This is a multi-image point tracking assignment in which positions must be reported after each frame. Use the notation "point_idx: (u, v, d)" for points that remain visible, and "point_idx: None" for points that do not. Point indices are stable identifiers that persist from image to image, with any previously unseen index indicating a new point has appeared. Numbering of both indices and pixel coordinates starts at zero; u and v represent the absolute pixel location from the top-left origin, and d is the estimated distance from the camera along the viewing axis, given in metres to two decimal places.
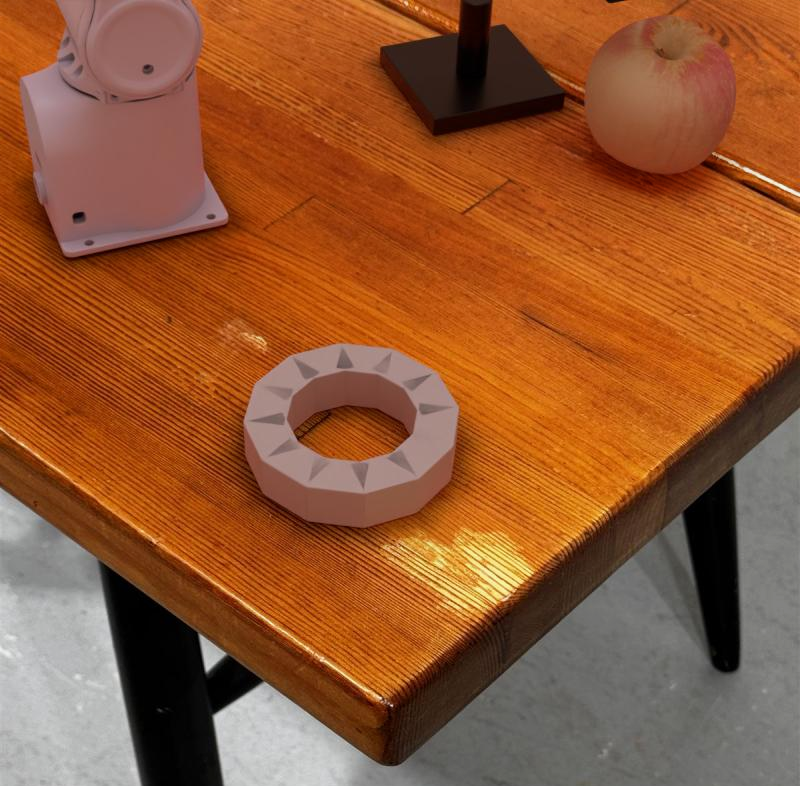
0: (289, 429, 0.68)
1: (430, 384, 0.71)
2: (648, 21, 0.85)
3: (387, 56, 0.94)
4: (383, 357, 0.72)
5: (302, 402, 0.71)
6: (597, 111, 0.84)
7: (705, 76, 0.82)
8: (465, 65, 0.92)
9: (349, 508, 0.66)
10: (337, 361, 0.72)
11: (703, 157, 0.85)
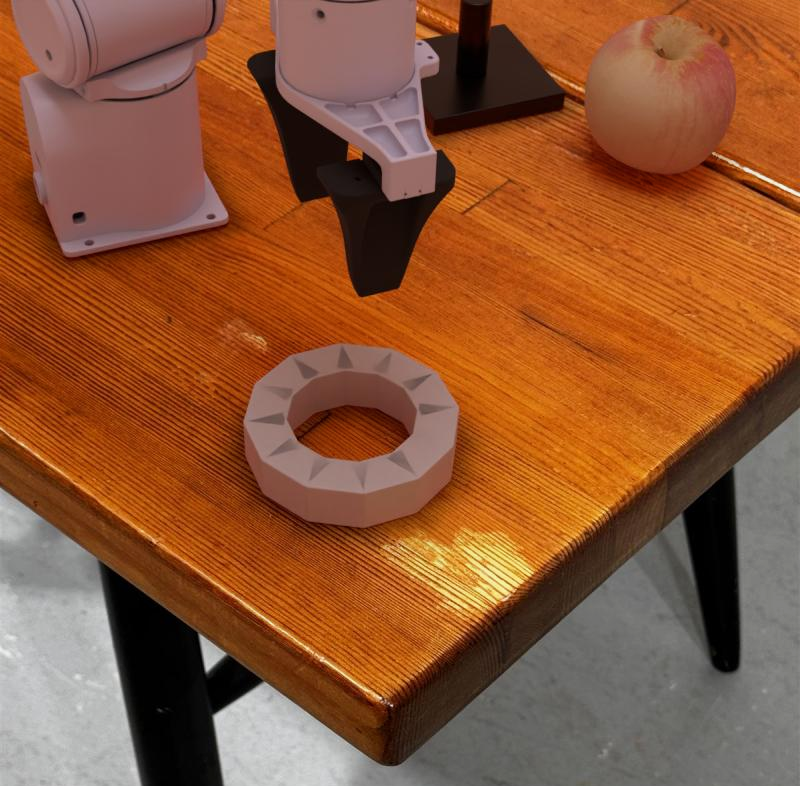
0: (289, 429, 0.68)
1: (430, 384, 0.71)
2: (648, 21, 0.85)
3: None
4: (383, 357, 0.72)
5: (302, 402, 0.71)
6: (597, 111, 0.84)
7: (705, 76, 0.82)
8: (465, 65, 0.92)
9: (349, 508, 0.66)
10: (337, 361, 0.72)
11: (703, 157, 0.85)
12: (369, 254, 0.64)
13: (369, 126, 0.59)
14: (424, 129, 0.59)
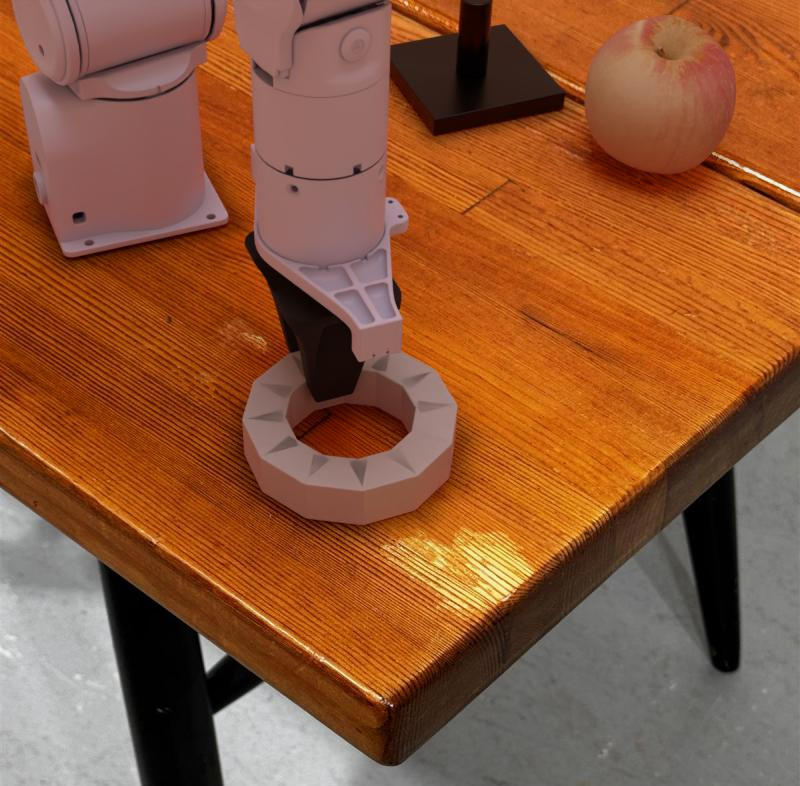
0: (288, 427, 0.68)
1: (429, 382, 0.71)
2: (648, 21, 0.85)
3: None
4: None
5: (301, 400, 0.71)
6: (597, 111, 0.84)
7: (705, 76, 0.82)
8: (465, 65, 0.92)
9: (348, 505, 0.67)
10: None
11: (703, 157, 0.85)
12: (324, 365, 0.69)
13: (340, 290, 0.63)
14: (392, 293, 0.63)
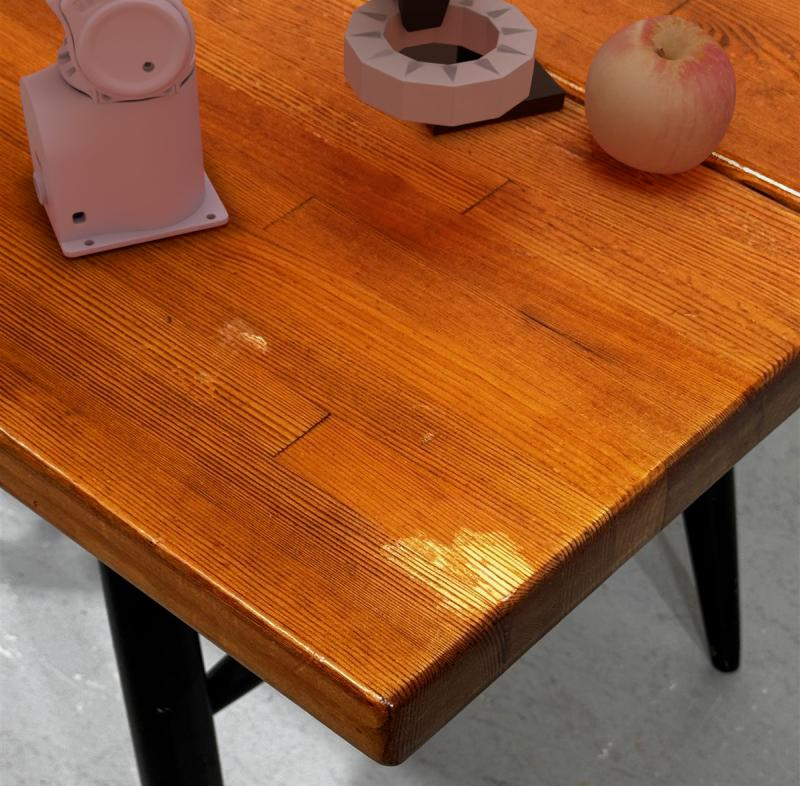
0: (385, 41, 0.76)
1: (511, 14, 0.79)
2: (648, 21, 0.85)
3: None
4: None
5: (395, 30, 0.79)
6: (597, 111, 0.84)
7: (705, 75, 0.82)
8: None
9: (439, 103, 0.74)
10: None
11: (703, 157, 0.85)
12: None
13: None
14: None
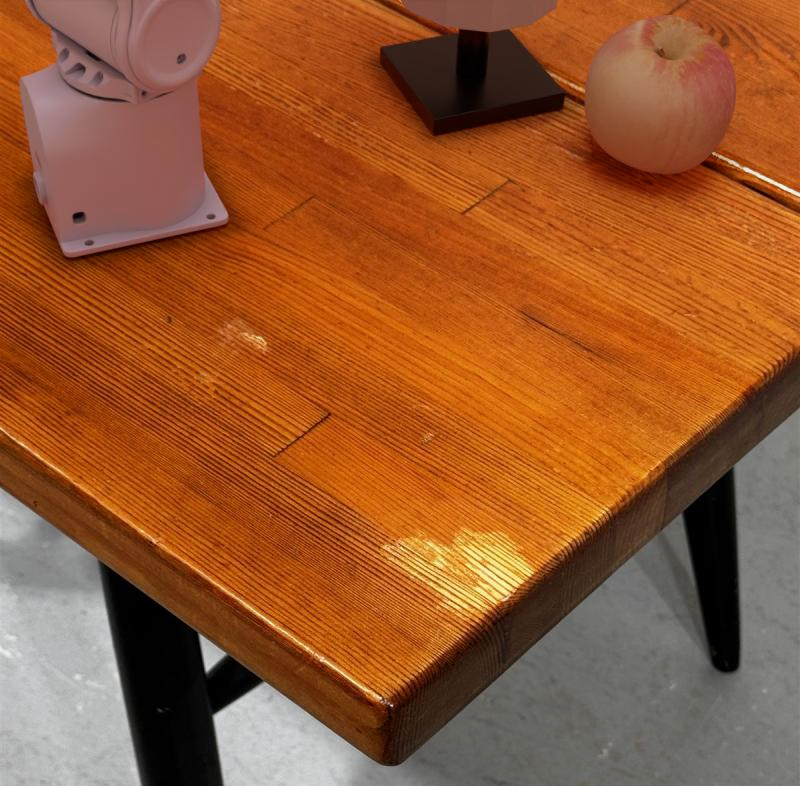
0: None
1: None
2: (648, 21, 0.85)
3: (387, 56, 0.94)
4: None
5: None
6: (597, 111, 0.84)
7: (705, 76, 0.82)
8: (465, 65, 0.92)
9: (479, 11, 0.85)
10: None
11: (703, 157, 0.85)
12: None
13: None
14: None
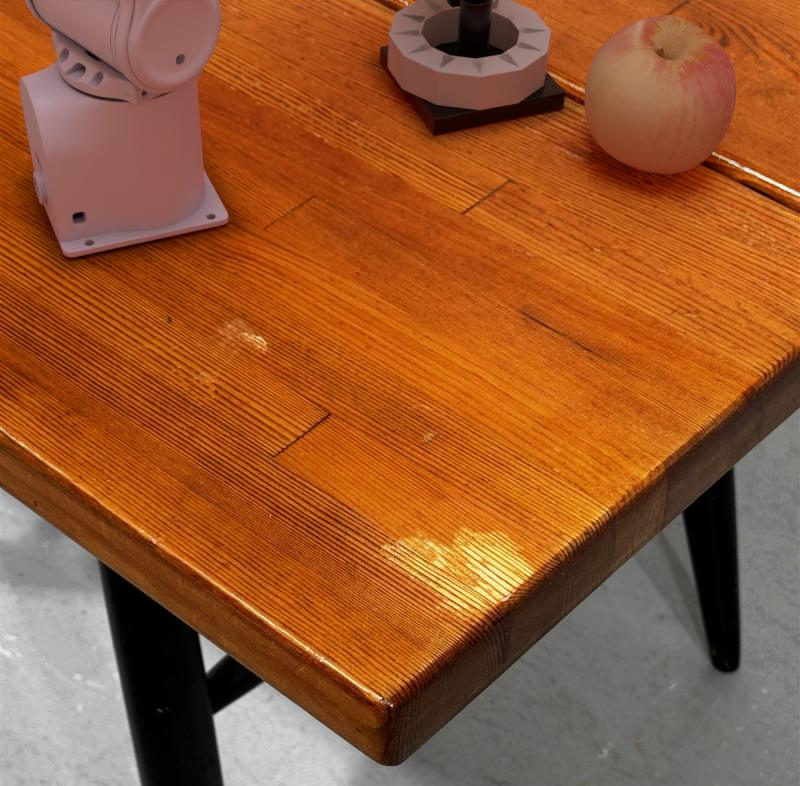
0: (423, 39, 0.91)
1: (529, 17, 0.93)
2: (648, 21, 0.85)
3: (387, 56, 0.94)
4: (493, 0, 0.94)
5: (431, 29, 0.93)
6: (597, 111, 0.84)
7: (705, 76, 0.82)
8: None
9: (469, 91, 0.89)
10: None
11: (703, 157, 0.85)
12: None
13: None
14: None
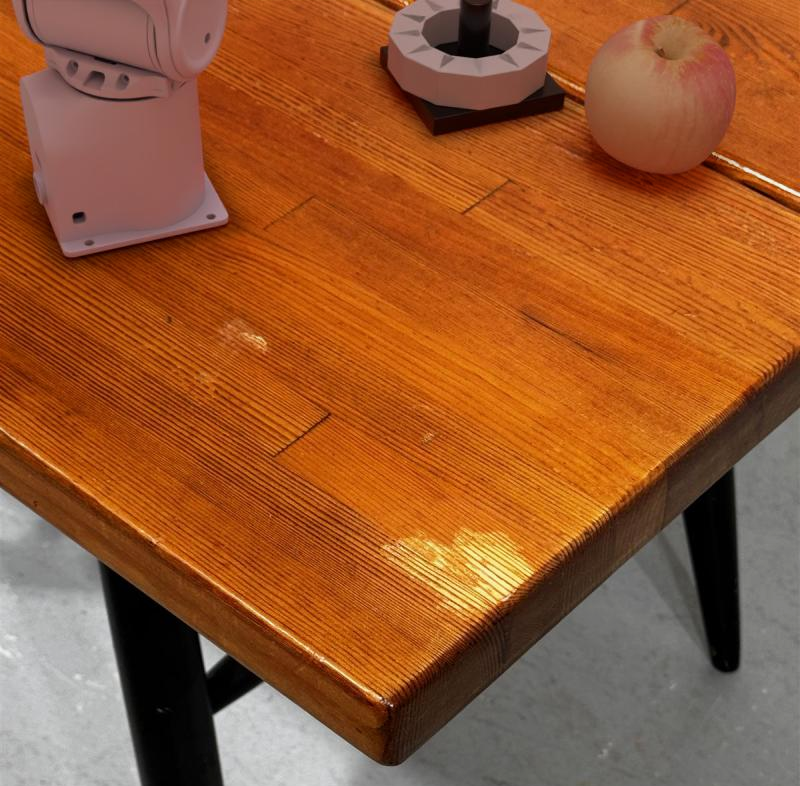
0: (423, 39, 0.91)
1: (529, 17, 0.93)
2: (648, 21, 0.85)
3: (387, 56, 0.94)
4: (493, 0, 0.94)
5: (431, 29, 0.93)
6: (597, 111, 0.84)
7: (705, 76, 0.82)
8: None
9: (469, 91, 0.89)
10: (458, 2, 0.94)
11: (703, 157, 0.85)
12: None
13: None
14: None
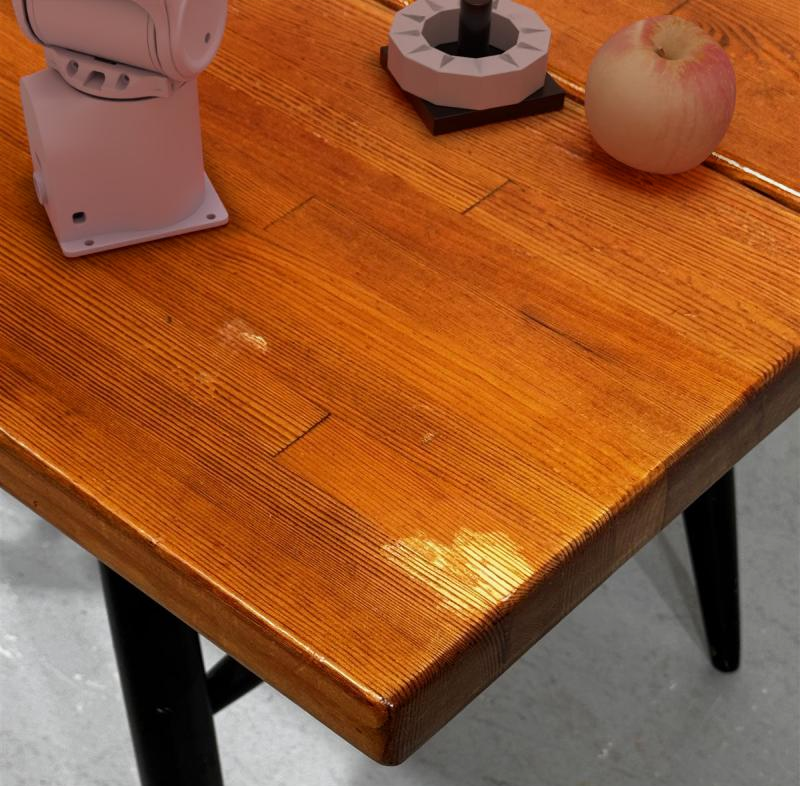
0: (423, 39, 0.91)
1: (529, 17, 0.93)
2: (648, 21, 0.85)
3: (387, 56, 0.94)
4: (493, 0, 0.94)
5: (431, 29, 0.93)
6: (597, 111, 0.84)
7: (705, 76, 0.82)
8: None
9: (469, 91, 0.89)
10: (458, 2, 0.94)
11: (703, 157, 0.85)
12: None
13: None
14: None
